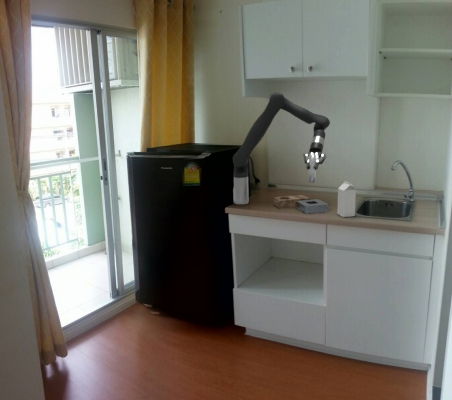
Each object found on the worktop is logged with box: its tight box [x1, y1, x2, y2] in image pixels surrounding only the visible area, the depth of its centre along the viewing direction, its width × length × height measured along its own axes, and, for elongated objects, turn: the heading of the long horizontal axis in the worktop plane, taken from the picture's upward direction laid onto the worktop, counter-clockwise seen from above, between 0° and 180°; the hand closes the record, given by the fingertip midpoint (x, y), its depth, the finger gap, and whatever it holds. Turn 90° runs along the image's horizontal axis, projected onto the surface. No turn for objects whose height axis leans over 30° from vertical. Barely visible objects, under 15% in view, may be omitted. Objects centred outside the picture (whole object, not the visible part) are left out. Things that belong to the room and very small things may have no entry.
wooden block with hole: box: [273, 194, 311, 210], centre depth 256 cm, size 20×10×5 cm, turn 102°
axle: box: [308, 154, 317, 184], centre depth 239 cm, size 4×4×16 cm
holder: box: [295, 198, 329, 215], centre depth 244 cm, size 14×14×4 cm
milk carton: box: [336, 180, 357, 218], centre depth 229 cm, size 7×7×19 cm
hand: (311, 168), depth 237 cm, fingers closed on axle, 4 cm apart
